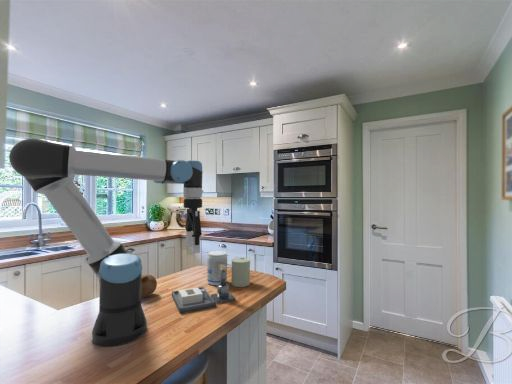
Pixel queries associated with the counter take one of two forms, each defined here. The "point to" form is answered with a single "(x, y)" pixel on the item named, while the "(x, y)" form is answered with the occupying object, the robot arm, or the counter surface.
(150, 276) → the onion
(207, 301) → the tray
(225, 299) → the metal post stand
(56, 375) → the counter surface
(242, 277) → the can
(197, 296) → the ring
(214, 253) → the supplement tub
